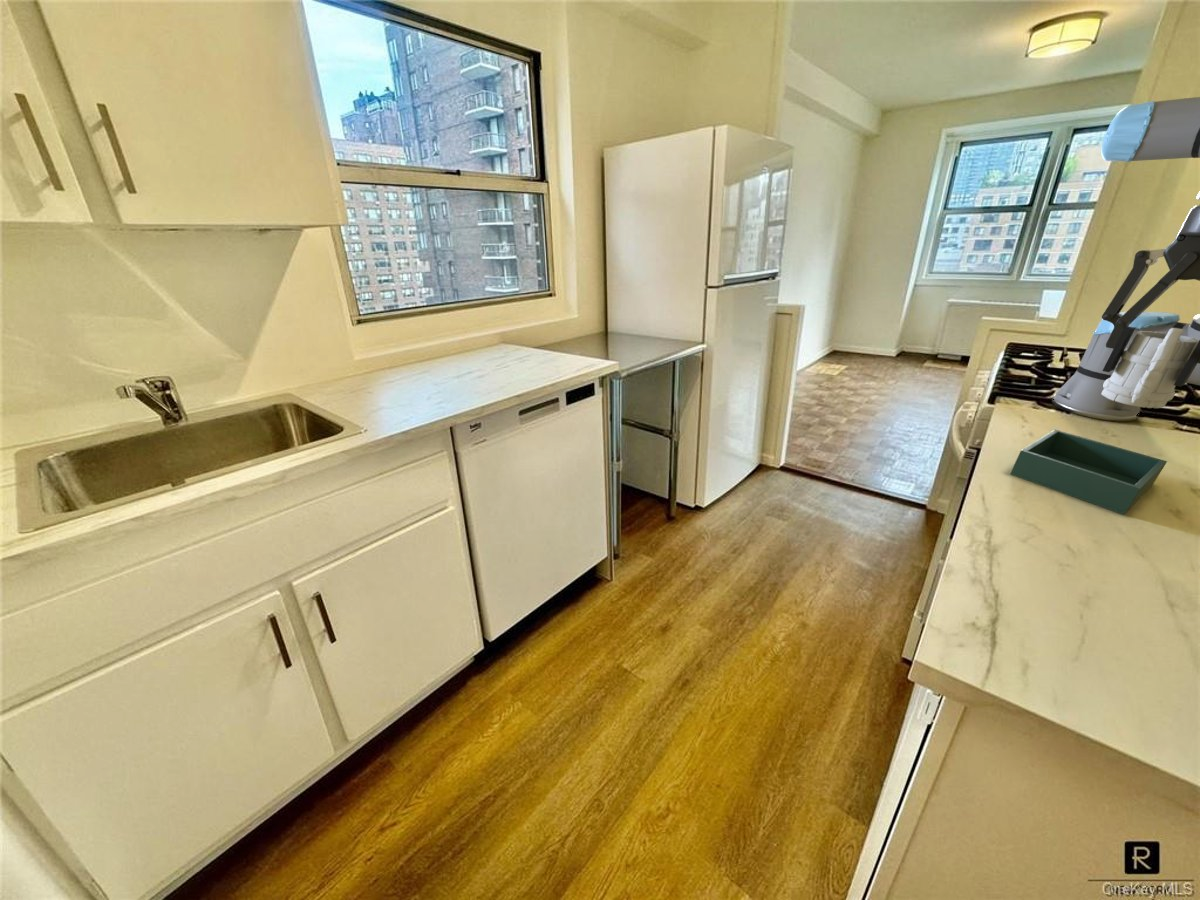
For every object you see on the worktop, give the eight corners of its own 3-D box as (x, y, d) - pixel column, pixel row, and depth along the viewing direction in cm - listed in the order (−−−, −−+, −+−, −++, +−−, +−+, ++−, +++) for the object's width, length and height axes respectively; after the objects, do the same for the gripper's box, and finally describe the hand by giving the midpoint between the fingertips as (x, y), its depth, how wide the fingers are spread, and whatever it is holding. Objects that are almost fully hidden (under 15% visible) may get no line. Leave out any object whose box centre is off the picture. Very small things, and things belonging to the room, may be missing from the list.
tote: (1044, 451, 97) (1054, 429, 95) (1152, 485, 86) (1167, 461, 83) (1009, 474, 89) (1020, 450, 87) (1124, 515, 78) (1140, 488, 75)
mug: (1166, 399, 75) (1213, 321, 69) (1169, 421, 67) (1222, 336, 62) (1099, 387, 79) (1138, 313, 74) (1095, 406, 72) (1138, 325, 66)
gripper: (1122, 202, 67) (1050, 363, 77) (1371, 203, 52) (1240, 402, 62) (1138, 203, 70) (1066, 357, 81) (1374, 204, 56) (1250, 392, 66)
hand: (1142, 376), depth 72 cm, fingers closed on mug, 7 cm apart
